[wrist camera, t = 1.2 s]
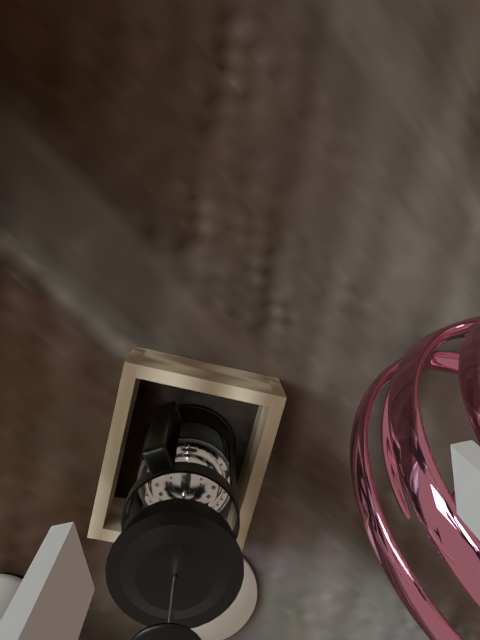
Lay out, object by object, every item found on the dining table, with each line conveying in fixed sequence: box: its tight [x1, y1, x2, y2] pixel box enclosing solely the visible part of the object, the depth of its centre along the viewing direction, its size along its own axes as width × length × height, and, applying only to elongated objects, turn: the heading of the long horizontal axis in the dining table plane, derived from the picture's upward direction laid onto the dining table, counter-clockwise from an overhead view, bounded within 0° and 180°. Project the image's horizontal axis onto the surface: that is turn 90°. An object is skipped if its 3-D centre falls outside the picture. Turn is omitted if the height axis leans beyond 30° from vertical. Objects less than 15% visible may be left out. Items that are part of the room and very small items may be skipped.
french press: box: [105, 401, 244, 640], centre depth 34 cm, size 12×9×23 cm
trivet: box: [191, 557, 257, 640], centre depth 49 cm, size 13×13×1 cm
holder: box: [87, 346, 287, 552], centre depth 43 cm, size 14×17×5 cm
